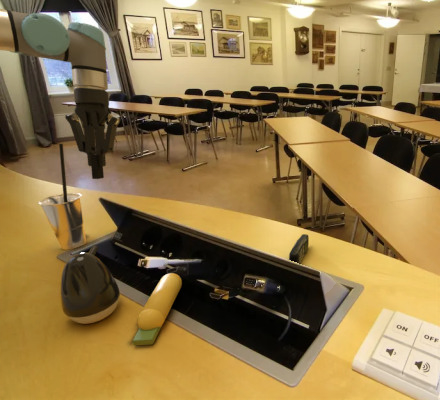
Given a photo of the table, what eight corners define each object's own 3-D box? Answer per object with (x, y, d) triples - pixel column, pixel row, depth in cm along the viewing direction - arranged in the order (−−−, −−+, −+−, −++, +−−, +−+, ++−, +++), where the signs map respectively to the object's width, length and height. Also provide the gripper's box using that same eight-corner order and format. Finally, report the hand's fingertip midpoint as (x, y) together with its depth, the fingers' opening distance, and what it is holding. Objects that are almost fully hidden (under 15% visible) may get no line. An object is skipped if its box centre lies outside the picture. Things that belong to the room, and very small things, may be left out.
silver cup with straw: (86, 232, 107) (61, 143, 96) (101, 242, 101) (76, 147, 90) (46, 244, 99) (14, 149, 88) (60, 256, 93) (27, 154, 82)
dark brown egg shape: (132, 298, 76) (118, 241, 70) (106, 331, 66) (88, 267, 60) (88, 299, 75) (70, 242, 70) (56, 332, 65) (32, 268, 60)
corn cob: (130, 348, 62) (124, 327, 60) (164, 286, 80) (161, 269, 78) (157, 346, 62) (152, 326, 61) (185, 285, 80) (182, 268, 79)
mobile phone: (298, 255, 85) (311, 230, 99) (287, 254, 86) (301, 229, 99) (298, 271, 87) (311, 244, 101) (287, 270, 88) (301, 243, 101)
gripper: (124, 93, 89) (129, 177, 93) (74, 90, 87) (81, 176, 91) (109, 88, 81) (115, 180, 85) (54, 85, 80) (63, 179, 84)
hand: (98, 178), depth 88 cm, fingers closed
